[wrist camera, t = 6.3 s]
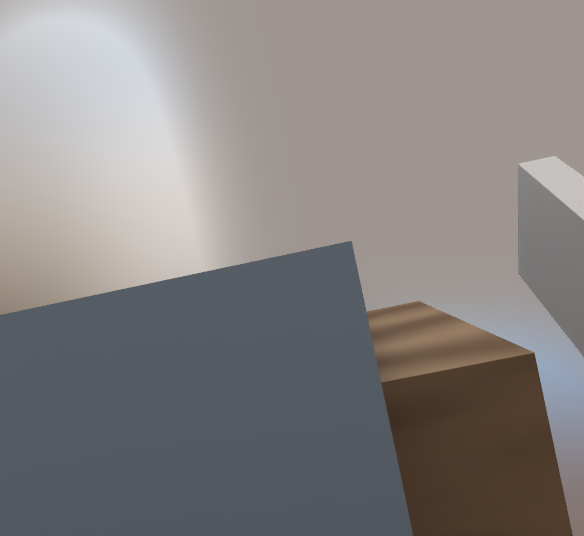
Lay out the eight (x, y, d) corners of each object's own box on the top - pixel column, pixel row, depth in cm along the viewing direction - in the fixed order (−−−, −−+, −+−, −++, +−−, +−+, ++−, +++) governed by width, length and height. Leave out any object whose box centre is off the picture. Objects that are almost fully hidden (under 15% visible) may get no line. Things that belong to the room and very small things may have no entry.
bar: (437, 655, 5) (352, 241, 5) (37, 720, 6) (-48, 325, 6) (342, 316, 35) (329, 254, 35) (280, 329, 35) (267, 267, 35)
